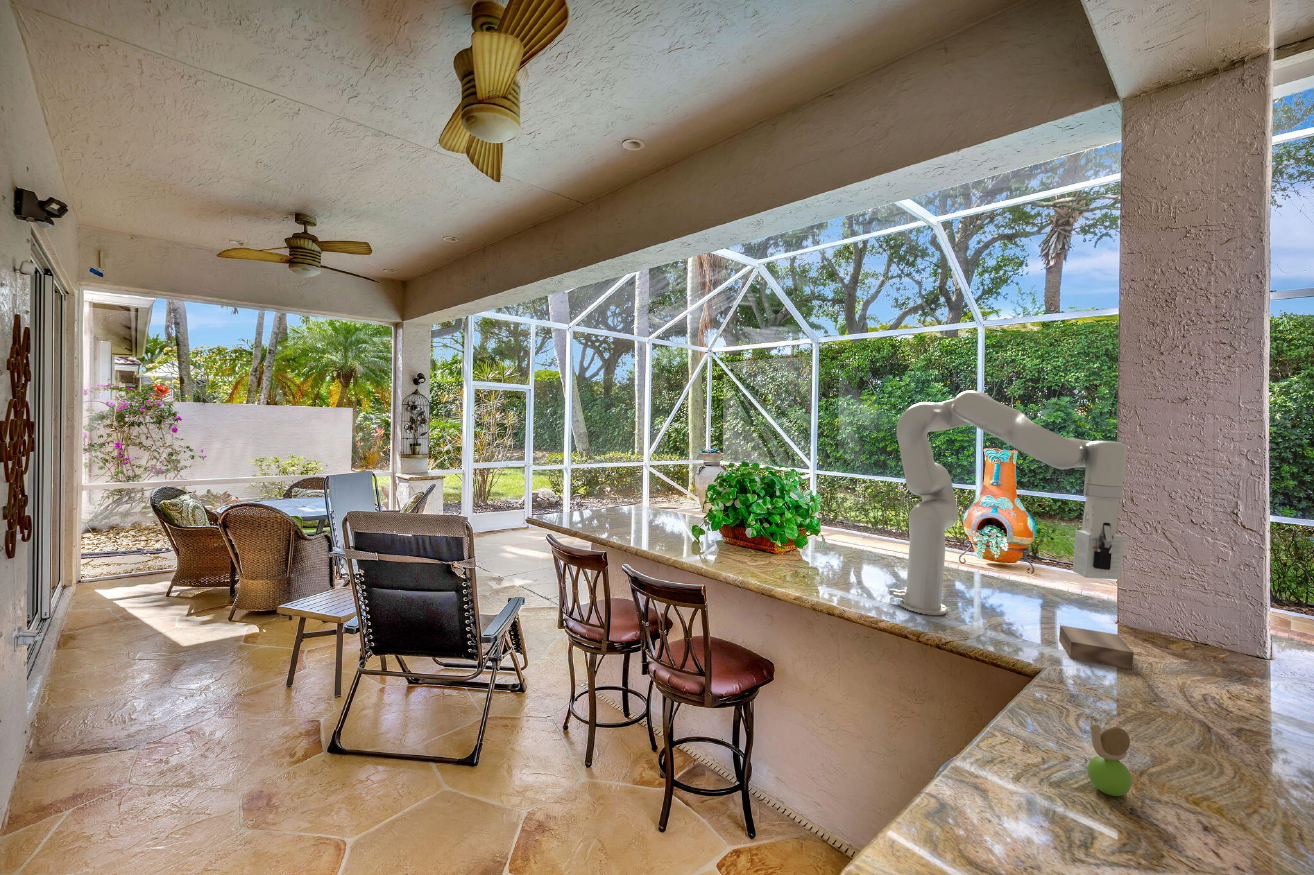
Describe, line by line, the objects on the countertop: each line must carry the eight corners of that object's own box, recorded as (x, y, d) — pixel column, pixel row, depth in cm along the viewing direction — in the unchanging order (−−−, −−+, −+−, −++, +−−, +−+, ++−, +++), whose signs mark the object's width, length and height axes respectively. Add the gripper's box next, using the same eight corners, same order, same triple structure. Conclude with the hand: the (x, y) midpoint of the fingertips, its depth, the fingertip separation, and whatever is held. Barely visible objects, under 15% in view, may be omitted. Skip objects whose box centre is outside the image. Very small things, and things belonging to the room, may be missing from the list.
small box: (1106, 573, 145) (1110, 531, 145) (1121, 580, 140) (1125, 536, 139) (1071, 571, 146) (1075, 529, 145) (1085, 578, 140) (1089, 534, 140)
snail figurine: (1071, 781, 93) (1078, 707, 92) (1109, 780, 93) (1116, 707, 93) (1099, 804, 87) (1107, 726, 87) (1139, 804, 88) (1147, 726, 87)
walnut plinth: (1070, 658, 141) (1071, 641, 140) (1058, 640, 152) (1060, 625, 151) (1132, 669, 136) (1133, 652, 136) (1116, 650, 147) (1117, 634, 146)
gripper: (1075, 486, 151) (1070, 555, 152) (1093, 495, 135) (1087, 571, 136) (1111, 489, 148) (1105, 559, 149) (1134, 498, 132) (1127, 576, 133)
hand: (1097, 564), depth 143 cm, fingers closed on small box, 6 cm apart
